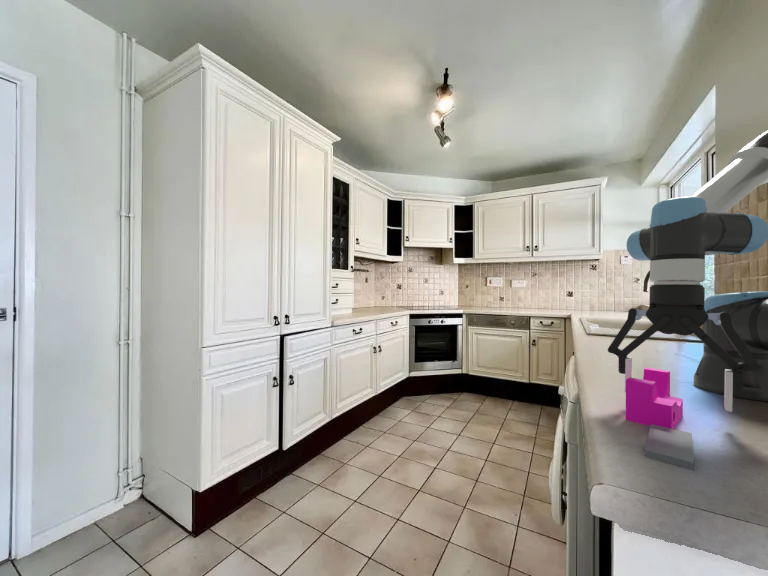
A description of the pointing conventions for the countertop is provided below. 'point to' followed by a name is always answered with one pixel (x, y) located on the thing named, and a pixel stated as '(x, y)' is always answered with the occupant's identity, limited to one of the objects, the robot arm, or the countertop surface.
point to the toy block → (652, 400)
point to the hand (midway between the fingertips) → (674, 399)
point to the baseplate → (670, 446)
